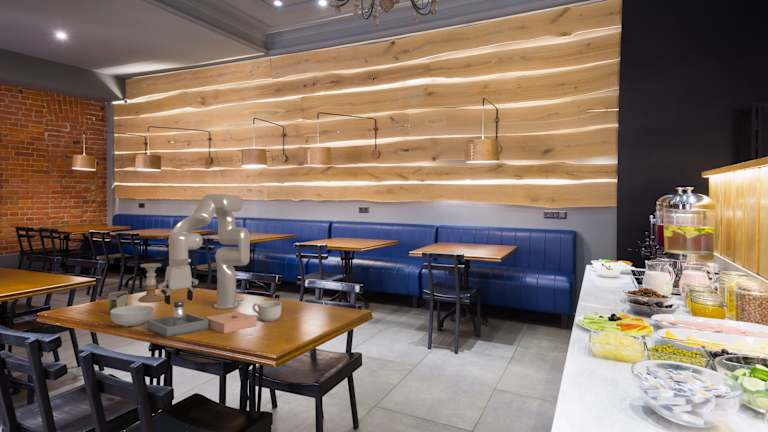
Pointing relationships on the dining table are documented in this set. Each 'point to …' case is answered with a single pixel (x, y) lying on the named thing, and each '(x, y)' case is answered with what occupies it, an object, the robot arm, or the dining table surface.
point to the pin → (178, 313)
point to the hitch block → (231, 322)
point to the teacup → (268, 310)
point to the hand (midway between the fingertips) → (179, 302)
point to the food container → (118, 299)
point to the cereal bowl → (131, 315)
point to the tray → (168, 330)
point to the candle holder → (150, 284)
